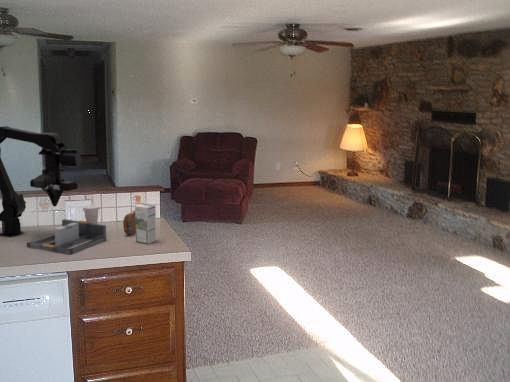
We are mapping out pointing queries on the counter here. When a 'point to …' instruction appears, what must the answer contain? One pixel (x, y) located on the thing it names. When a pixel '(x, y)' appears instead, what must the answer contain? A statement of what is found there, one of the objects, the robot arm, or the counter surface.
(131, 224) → the tin
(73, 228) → the panel
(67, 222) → the rack
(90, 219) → the smoothie
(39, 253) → the counter surface
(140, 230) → the syrup box
